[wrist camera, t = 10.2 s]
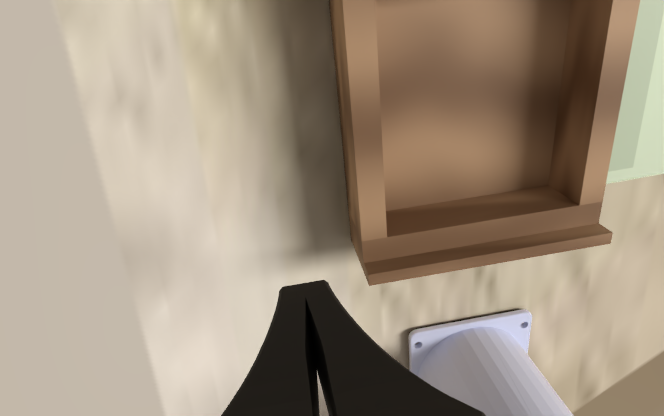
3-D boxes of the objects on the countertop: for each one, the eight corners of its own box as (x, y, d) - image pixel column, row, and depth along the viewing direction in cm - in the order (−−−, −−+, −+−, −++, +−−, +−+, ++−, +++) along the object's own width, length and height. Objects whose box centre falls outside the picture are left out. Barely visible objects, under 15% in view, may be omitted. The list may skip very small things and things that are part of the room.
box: (556, 205, 26) (610, 243, 22) (351, 239, 24) (369, 285, 21) (595, -83, 19) (681, -103, 15) (323, -55, 18) (341, -69, 14)
